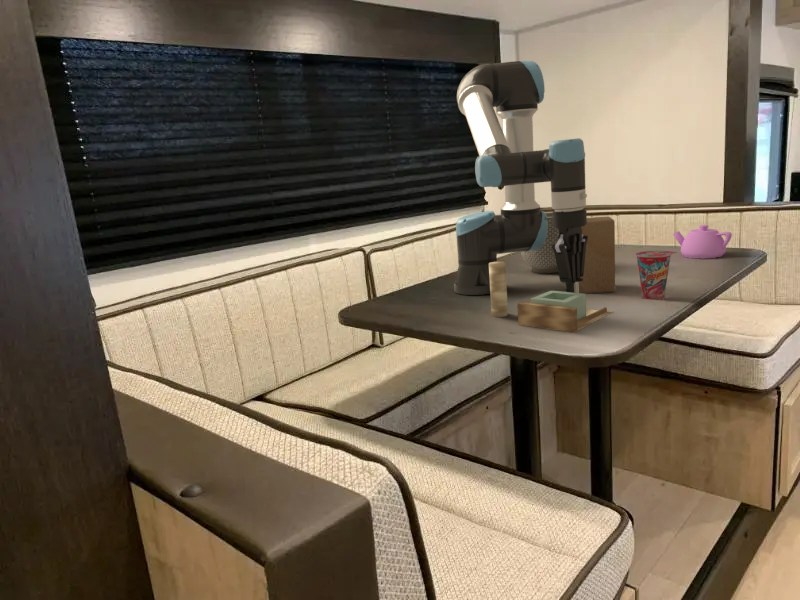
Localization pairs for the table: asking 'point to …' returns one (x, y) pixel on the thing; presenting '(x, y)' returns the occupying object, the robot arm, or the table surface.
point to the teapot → (703, 243)
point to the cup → (653, 273)
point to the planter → (544, 251)
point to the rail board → (556, 316)
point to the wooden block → (599, 256)
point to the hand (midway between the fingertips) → (573, 308)
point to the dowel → (498, 289)
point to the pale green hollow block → (563, 301)
